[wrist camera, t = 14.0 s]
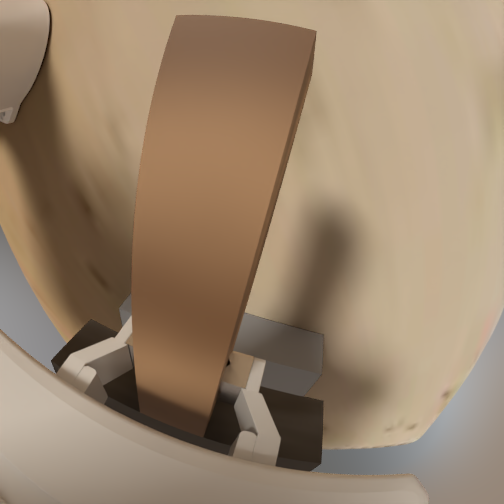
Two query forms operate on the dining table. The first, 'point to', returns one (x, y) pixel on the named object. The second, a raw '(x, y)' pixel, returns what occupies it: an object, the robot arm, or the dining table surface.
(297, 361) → the grey slab
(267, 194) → the wooden t-shaped pusher
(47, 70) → the dining table surface
